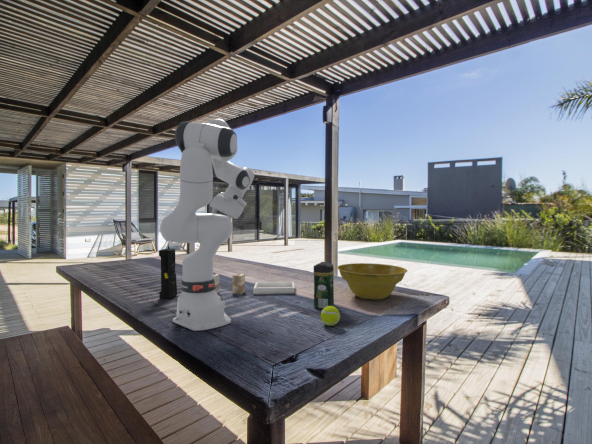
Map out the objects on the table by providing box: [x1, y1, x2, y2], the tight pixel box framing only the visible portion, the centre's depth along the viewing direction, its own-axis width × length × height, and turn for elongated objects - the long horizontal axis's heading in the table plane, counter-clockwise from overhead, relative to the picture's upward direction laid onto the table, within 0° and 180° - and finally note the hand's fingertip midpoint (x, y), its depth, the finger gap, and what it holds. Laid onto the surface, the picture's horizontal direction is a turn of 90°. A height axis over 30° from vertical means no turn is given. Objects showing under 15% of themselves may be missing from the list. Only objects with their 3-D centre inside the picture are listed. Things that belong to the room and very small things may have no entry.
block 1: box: [213, 273, 220, 294], centre depth 156 cm, size 5×5×9 cm
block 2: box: [231, 273, 246, 295], centre depth 156 cm, size 5×5×9 cm
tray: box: [252, 281, 296, 295], centre depth 160 cm, size 20×14×3 cm
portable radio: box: [158, 243, 178, 300], centre depth 147 cm, size 8×6×25 cm
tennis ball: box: [320, 305, 341, 327], centre depth 109 cm, size 7×7×7 cm
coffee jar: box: [313, 261, 335, 310], centre depth 131 cm, size 10×8×19 cm
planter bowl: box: [336, 262, 408, 300], centre depth 148 cm, size 32×32×13 cm
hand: (217, 219), depth 155 cm, fingers open, 8 cm apart
